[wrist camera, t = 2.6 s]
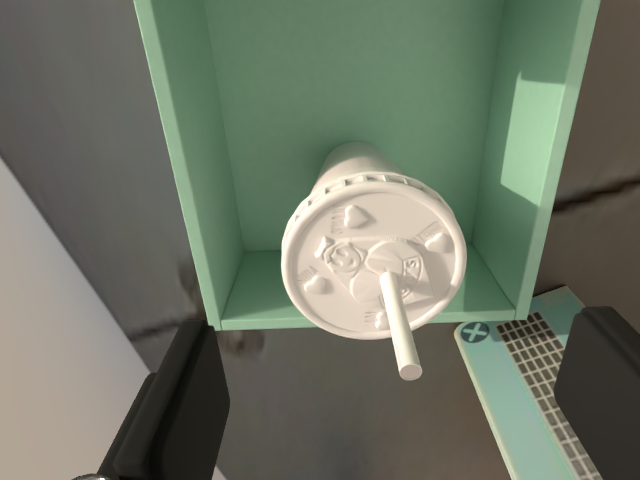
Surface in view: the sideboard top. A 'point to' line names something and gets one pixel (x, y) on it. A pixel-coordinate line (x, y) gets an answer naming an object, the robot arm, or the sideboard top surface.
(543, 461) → the device
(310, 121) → the mint green open crate
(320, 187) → the smoothie
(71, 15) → the sideboard top surface
